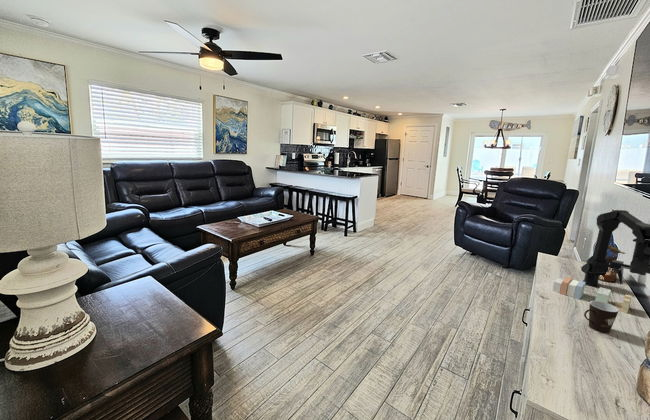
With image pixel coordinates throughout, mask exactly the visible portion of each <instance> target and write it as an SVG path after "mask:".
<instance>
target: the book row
mask: <svg viewBox="0 0 650 420" xmlns="http://www.w3.org/2000/svg"><path fill="white" fill-rule="evenodd" d="M585 283H586V282H584V281H583V280H576V279H573V278H572V277H568V276H566V277H565V278H559V277H557V278H556V279H555V280H554V282H553V285H552V292H554V293H555V292H557V293H559V294H560V295H564V296H567V297H572V298H574V299H577V300H580V299H581V298H582V296H583V295H584V293H585V288H586V284H585Z"/></svg>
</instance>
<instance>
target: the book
mask: <svg viewBox="0 0 650 420" xmlns="http://www.w3.org/2000/svg"><path fill="white" fill-rule="evenodd" d="M611 293H612V290H611V289H609V288H605V287H599V288H598V290H597V291H596V295H595V299H594V301H601V302H605V303H608V304H609V301H610V297H611Z"/></svg>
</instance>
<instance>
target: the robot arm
mask: <svg viewBox="0 0 650 420" xmlns="http://www.w3.org/2000/svg"><path fill="white" fill-rule="evenodd" d="M621 223H622V224H624V225H625V226H626V227H627V228H629V229H631V231H632V232H631V234H632V235H633V236H634V237H635V238H634V239H632V242H634V243H635V245H634V249H633V255H632V259H631V261H630V264H627V263H626V264H625V263H624V262H625V261H621V260H612V261H611V262H610V265H609V263H608V262H607V260H606V254H607V253H608V250H609V249H608V246H609V245H610V241H611V238H612V234H613V233H614V231H616V229H618V228H619V226H620V224H621ZM596 227H597V228H598V234H597V238H596V242H595V246H594V250H593V254H592V255H591V256H590V257H589V258H588V259H587V260H586V263H585V264H583V265H582V266H581V268H580V271H581V272H582V273H584V278H583V280H582V281H584V282H586V283H585V286H591V287H595V288H598V287H599V285H600V283H599V281H600V280H599V276H600V275H603V276H605V274H606V272H607V271H608V267H610V268H612V270H615V271H616V272H617V273H616V274H617V276H618V281H619V284H620V285H622V284H623V281H624V269H627V270H629V273H631V274H637V275H640V276H646V275H647V274H649V275H650V223H646V222H644V221H642V220H640V219H638V217H635V215H633V214H631V213H630V212H629V211H627V210H624V209H623V210H622V209H615V210H612V211H609V212H603V213H600V214H599V215H597V217H596Z"/></svg>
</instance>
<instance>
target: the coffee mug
mask: <svg viewBox="0 0 650 420" xmlns="http://www.w3.org/2000/svg"><path fill="white" fill-rule="evenodd" d="M588 307H589V308H588V309H587V310H585V311H584V315H583V316H584V318H585V319H586V320H587V321H588V327H589V329H591V330H594V331H595V332H598V333H602V334H610V332H611V330H612V328H613V325H614V323H615V321H616V318H617V316H618V315H619V312H620V311H619V309H618V308H617V307H615V305H613V304H611V303H609V302H608V303H605V302H601V301H595V300H591V301H589V306H588ZM587 313H588V317H587Z"/></svg>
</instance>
